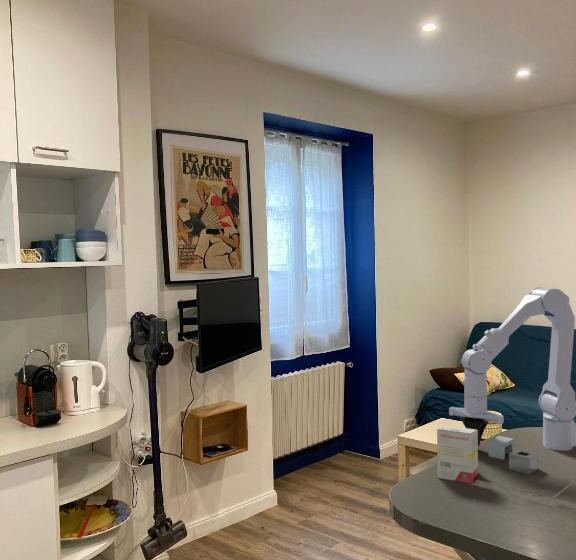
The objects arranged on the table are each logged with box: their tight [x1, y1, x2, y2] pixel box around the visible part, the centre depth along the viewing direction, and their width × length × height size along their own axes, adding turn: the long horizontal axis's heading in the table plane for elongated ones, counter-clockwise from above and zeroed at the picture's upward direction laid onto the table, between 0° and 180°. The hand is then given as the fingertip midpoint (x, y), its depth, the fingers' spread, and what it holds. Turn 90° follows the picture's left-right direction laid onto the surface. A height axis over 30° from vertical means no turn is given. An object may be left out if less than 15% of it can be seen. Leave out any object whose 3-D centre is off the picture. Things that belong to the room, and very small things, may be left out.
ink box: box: [436, 424, 479, 485], centre depth 144 cm, size 9×5×12 cm, turn 57°
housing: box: [488, 435, 515, 460], centre depth 157 cm, size 6×4×4 cm, turn 136°
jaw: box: [508, 449, 539, 475], centre depth 146 cm, size 5×5×4 cm
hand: (475, 446), depth 162 cm, fingers closed
